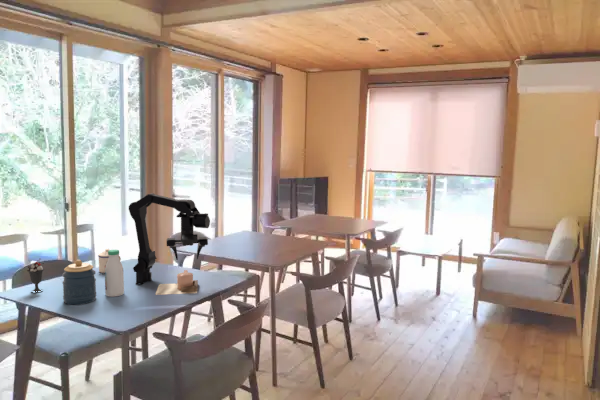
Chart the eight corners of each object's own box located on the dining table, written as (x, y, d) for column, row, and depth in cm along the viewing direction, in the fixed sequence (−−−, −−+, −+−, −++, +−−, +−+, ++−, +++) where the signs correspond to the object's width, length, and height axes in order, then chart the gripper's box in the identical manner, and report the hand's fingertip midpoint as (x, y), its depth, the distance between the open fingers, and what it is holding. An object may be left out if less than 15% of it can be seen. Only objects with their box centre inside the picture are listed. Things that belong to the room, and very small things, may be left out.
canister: (75, 307, 196) (73, 265, 194) (56, 301, 203) (55, 260, 201) (103, 298, 207) (101, 259, 205) (84, 293, 214) (83, 254, 212)
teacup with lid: (105, 274, 245) (104, 252, 244) (95, 271, 250) (94, 249, 249) (125, 269, 255) (125, 248, 254) (115, 266, 260) (114, 245, 259)
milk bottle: (127, 292, 216) (126, 249, 213) (116, 298, 209) (114, 253, 206) (113, 290, 218) (112, 247, 216) (101, 295, 211) (100, 251, 209)
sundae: (48, 290, 218) (47, 258, 216) (35, 294, 211) (33, 261, 210) (38, 288, 220) (37, 256, 218) (25, 292, 214) (23, 259, 212)
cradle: (155, 296, 211) (155, 290, 211) (159, 286, 226) (158, 280, 226) (196, 295, 214) (196, 288, 214) (197, 284, 230) (197, 278, 229)
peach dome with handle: (192, 290, 218) (192, 276, 217) (176, 290, 217) (176, 276, 216) (193, 283, 229) (193, 269, 228) (178, 283, 228) (178, 270, 227)
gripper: (166, 230, 214) (166, 264, 216) (208, 229, 219) (208, 262, 221) (166, 226, 225) (166, 258, 226) (206, 225, 230) (206, 257, 231)
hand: (187, 259), depth 226 cm, fingers open, 9 cm apart
